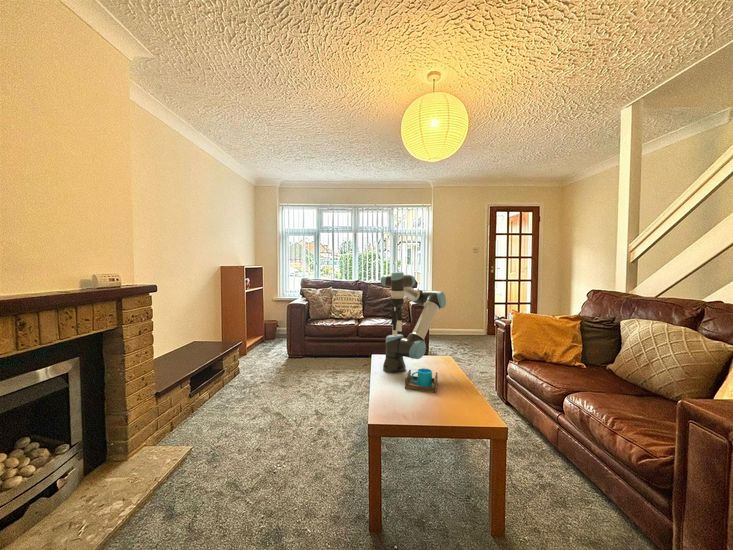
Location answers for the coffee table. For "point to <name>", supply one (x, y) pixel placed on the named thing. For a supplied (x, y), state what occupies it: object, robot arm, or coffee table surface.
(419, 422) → the coffee table surface
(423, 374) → the mug
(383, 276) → the robot arm
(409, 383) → the tray
